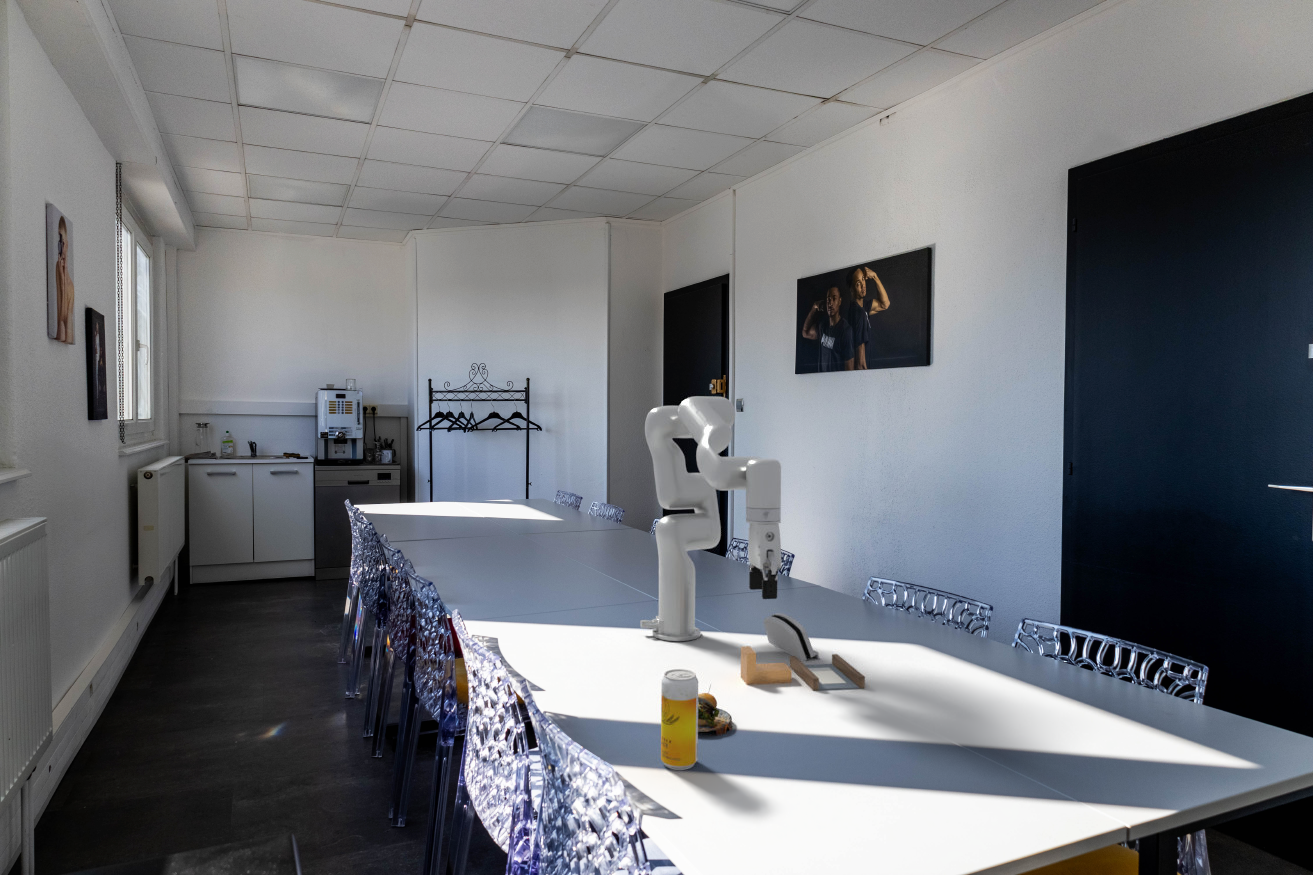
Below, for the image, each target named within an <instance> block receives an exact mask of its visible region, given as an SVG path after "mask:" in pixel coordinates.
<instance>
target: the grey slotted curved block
mask: <svg viewBox="0 0 1313 875" xmlns="http://www.w3.org/2000/svg"><path fill="white" fill-rule="evenodd" d="M763 624H764V629H765V632H766V633H765V634H766V636H767V640H768V644H771V645H772V646H774V647H776V648H778V649H779V650H781V651H783V652H784V653H786V654H788V655H789V656H795V657H797V658H798V659H799V660H800V661H801V662H806V661H808V659H807V658H808V657H809V658H816V659H818V660H820V659H821V658H820V657H821V656H820V655H819V652H818V651H817V650H815V649H814V648H813V646H812V644H811V641H810V638H809V636H808V633H807V631H806V628H805V627H804V626H803V625H802V624H801V623H799V622H798V621H797V620H796V619H795V618H793V617H791V615H788V614H785V613H782V612H781V613H780V612H778V613H774V614H771V616H767V617H765V619H764V620H763Z"/></svg>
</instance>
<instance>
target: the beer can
mask: <svg viewBox="0 0 1313 875" xmlns="http://www.w3.org/2000/svg"><path fill="white" fill-rule="evenodd" d="M698 694H699V680H698V678H697V674H696V672H695V671H692V670H689V669H684V668H683V669H682V668H677V669H676V668H674V669H670V670H667V671H665V672H664V674H663V677H662V678H661V702H660V703H661V704H660V705H661V706H660V707H661V708H660V710H661V711H660V713H661V714H660V715H661V717H660V721H661V722H660V726H661V727H660V733H661V734H660V759H661V761H662V763H663V765H664V766H665V767H666V768H668V769H671V770H675V771H683V770H688V769H689V770H690V769H691V768H693V767H694V766H695V763H697V761H698V759H699V758H698V753H699V752H698V750H699V748H698V746H699V744H698V743H699V739H698V738H699V735H698V734H699V732H698Z"/></svg>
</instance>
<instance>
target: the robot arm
mask: <svg viewBox="0 0 1313 875" xmlns="http://www.w3.org/2000/svg"><path fill="white" fill-rule="evenodd" d="M735 420H736V409H735V406H734V405H733V403H732V401H731V400H729V399H728V398H726V397H723V396H706V395H705V396H699V395H698V396H697V395H696V396H694V395H693V396H690V397H689V396H688V397H687V398H685V399H684V400H682V401H681V403H680V404H679V405H662V406H657V407H654V408H652V409H651V410H650V411H648V413H647V416H646V418H645V422H644V423H645V424H644V435H645V440H646V443H647V446H648V449H649V451H650V456H651V458H652V464H653V473H654V482H655V491H656V498H657V502H658V504H659V506H660V507H661V508H663V509H665V510H694V513H677V514H669V515H665V516H663V517H662V518H660V519H659V520H658V521H657V522H656V525H655V530H654V531H655V533H654V534H655V540H656V547H657V553H658V556H657V557H658V615H655V618H652V620H650V619H649V620H648V619H644V620H643V619H641V620H640V628H641V629H642V628H643V629H644V628H646V630H652V636H653V637H654V638H656V639H658V640H661V641H662V640H663V641H667V642H686V641H692V640H696V639H699V638H700V637H701V633H702V632H701V629H699V627H696V624H695V623H696V567H695V564H694V562H693V560H692V558H691V557H690V556H689V554H688V551H689V552H690V551H697V550H698V551H699V550H707V549H708V550H709V549H713V548H716V547H717V545H718V544H719V542H720V540H721V536H722V534H721V533H722V532H721V531H722V530H721V528H722V526H721V520H720V513H719V505H718V497H717V490H718V491H739V490H740V491H745V523H747V524H749V527H748V542H747V544H748V545H747V550H748V551H747V553H748V554H747V557H748V562H749V567H748V570H749V574H748V576H749V577H748V578H749V582H748V584H749V586H748V587H749V590H750V591H751V590H761V599H763V600H776V599H777V598H778V579H779V578H778V573H779V571H778V570H781V568H782V548H781V547H782V546H781V545H782V543H781V532H780V525H779V524H780V523H782V522H781V518H782V517H781V516H782V509H781V508H782V507H781V506H782V504H781V503H782V498H781V497H782V465H781V463H780V461H779V460H777V459H773V458H762V457H759V456H720V455H719V454H720V453H721V452H722V451H724V450H725V449H727V447H728V446H729V444H730V443H731V441H732V438H733V432H732V429H731V428H732V426H733V424H735ZM673 439H694V441H695V442H696V443H697V448H696V455H695V457H696V465H697V468H698V471H699V472H688V471H687V467H686V458H685V455H684V453H683V451H682V449H681V448H680V446H679V445H678V444H677V443H676V442H675V441H674V440H673Z"/></svg>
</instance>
